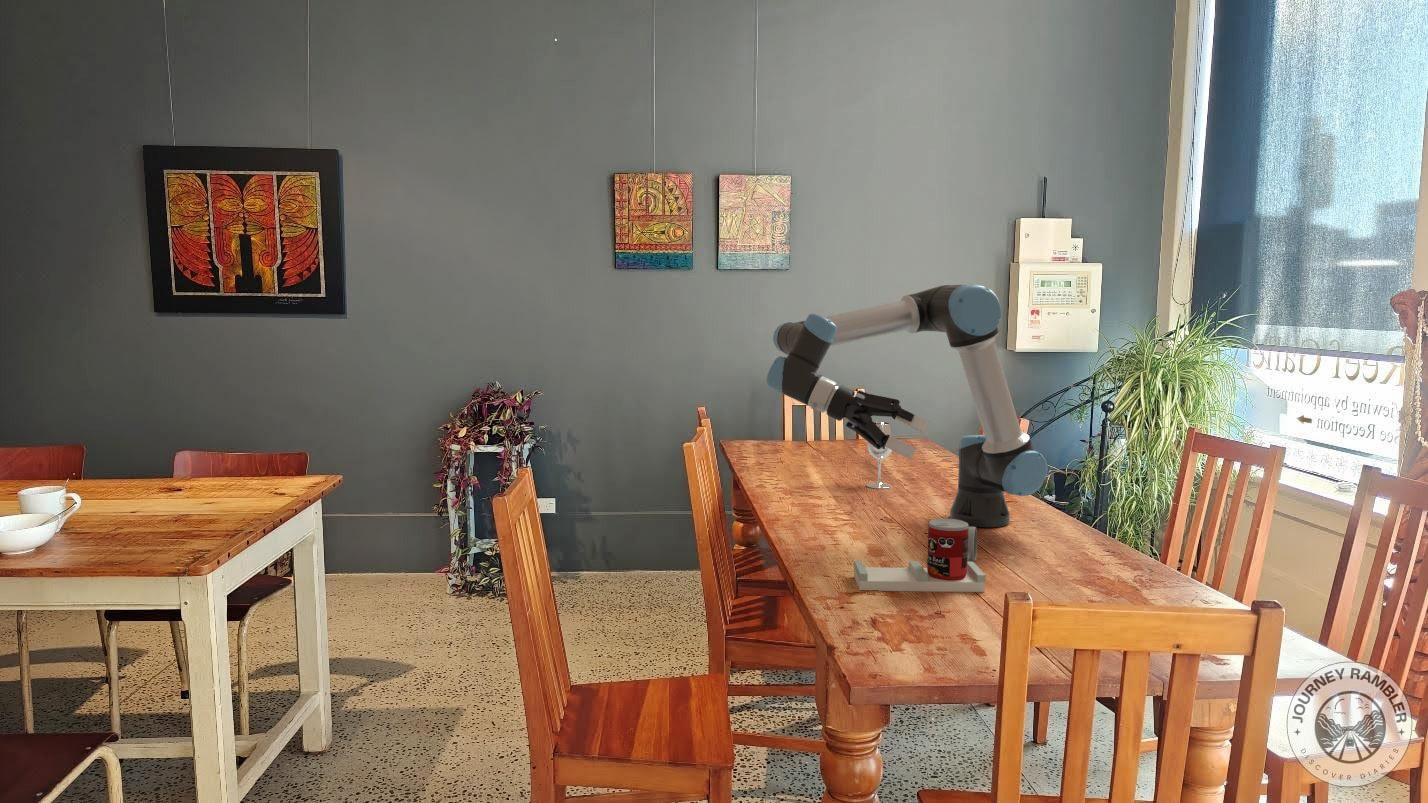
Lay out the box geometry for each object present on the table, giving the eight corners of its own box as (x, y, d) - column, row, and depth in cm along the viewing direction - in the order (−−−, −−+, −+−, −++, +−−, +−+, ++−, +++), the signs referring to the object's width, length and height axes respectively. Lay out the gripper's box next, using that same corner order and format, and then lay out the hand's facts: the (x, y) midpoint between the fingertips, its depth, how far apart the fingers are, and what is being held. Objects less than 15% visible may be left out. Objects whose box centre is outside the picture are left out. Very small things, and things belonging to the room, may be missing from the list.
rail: (972, 577, 181) (973, 561, 181) (984, 592, 172) (985, 575, 172) (853, 576, 182) (854, 560, 182) (859, 590, 173) (860, 573, 173)
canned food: (919, 571, 179) (921, 520, 178) (951, 567, 182) (953, 516, 180) (941, 582, 172) (943, 529, 171) (974, 578, 175) (976, 525, 173)
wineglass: (877, 482, 275) (878, 420, 272) (896, 486, 269) (898, 423, 266) (861, 485, 270) (862, 423, 267) (880, 490, 264) (882, 425, 261)
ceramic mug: (940, 552, 200) (941, 520, 199) (977, 556, 197) (978, 523, 196) (934, 566, 190) (935, 532, 189) (973, 570, 187) (974, 536, 186)
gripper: (819, 436, 202) (902, 477, 197) (831, 385, 180) (925, 429, 175) (833, 411, 205) (915, 451, 200) (846, 358, 183) (939, 401, 178)
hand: (920, 441), depth 187 cm, fingers open, 13 cm apart
